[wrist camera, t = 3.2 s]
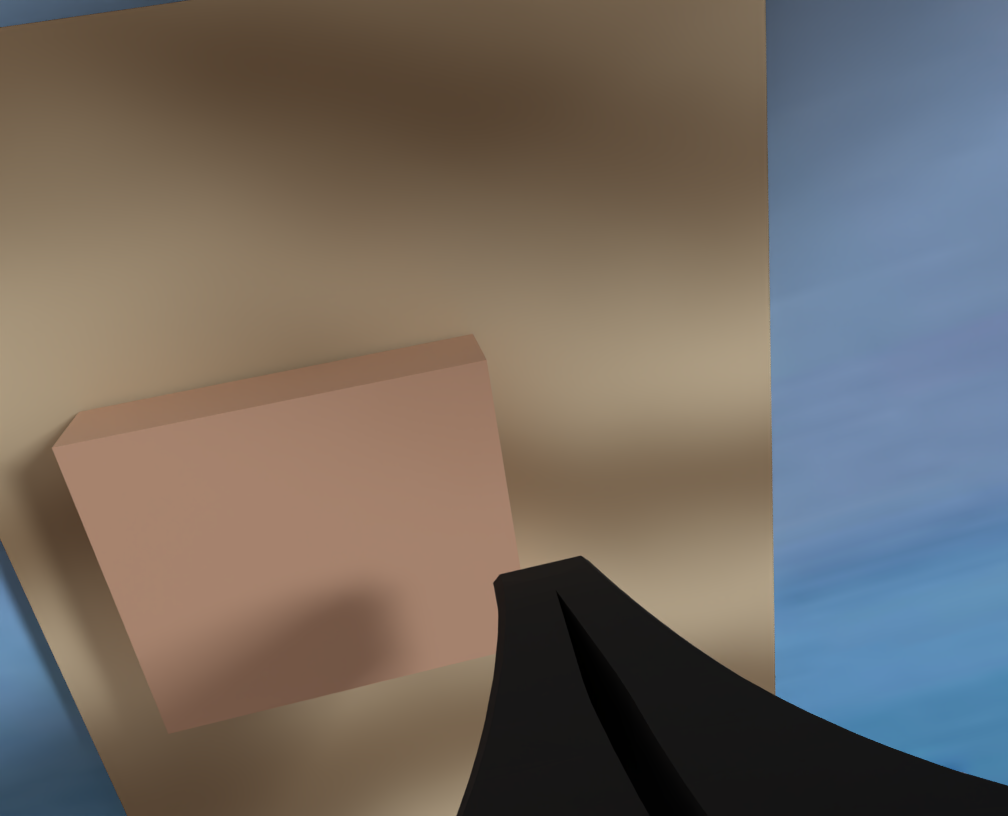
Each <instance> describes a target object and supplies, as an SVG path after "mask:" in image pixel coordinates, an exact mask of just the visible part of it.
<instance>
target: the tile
mask: <svg viewBox="0 0 1008 816" xmlns="http://www.w3.org/2000/svg"><path fill="white" fill-rule="evenodd" d="M52 450H53V452H54V454H55V457H56V459H57V462H58V464H59V467H60V469H61V472H62V474H63V477H64V479H65V481H66V484H67V486H68V489H69V491H70V494H71V496H72V499H73V501H74V504H75V506H76V508H77V511H78V513H79V516H80V518H81V521H82V523H83V526H84V528H85V531H86V533H87V535H88V538H89V540H90V543H91V545H92V548H93V550H94V553H95V555H96V557H97V560H98V562H99V565H100V567H101V570H102V572H103V575H104V577H105V580H106V582H107V584H108V587H109V589H110V592H111V594H112V597H113V599H114V602H115V604H116V607H117V609H118V611H119V614H120V616H121V619H122V621H123V624H124V626H125V629H126V631H127V633H128V636H129V638H130V641H131V643H132V646H133V648H134V651H135V653H136V656H137V658H138V660H139V663H140V665H141V668H142V670H143V673H144V675H145V678H146V680H147V683H148V685H149V687H150V690H151V692H152V695H153V697H154V700H155V702H156V705H157V707H158V710H159V712H160V714H161V717H162V719H163V722H164V724H165V727H166V729H167V732H168V734H170V733H174V732H178V731H182V730H186V729H191V728H195V727H199V726H203V725H207V724H211V723H215V722H219V721H223V720H227V719H231V718H235V717H240V716H244V715H248V714H252V713H256V712H260V711H264V710H268V709H272V708H276V707H280V706H284V705H288V704H293V703H297V702H301V701H305V700H309V699H313V698H317V697H321V696H325V695H329V694H333V693H337V692H342V691H346V690H350V689H354V688H358V687H362V686H366V685H370V684H374V683H378V682H382V681H386V680H390V679H395V678H399V677H403V676H407V675H411V674H415V673H419V672H423V671H427V670H431V669H435V668H439V667H444V666H448V665H452V664H456V663H460V662H464V661H468V660H472V659H476V658H480V657H484V656H488V655H492V654H496V647H497V637H498V608H497V602H496V596H495V591H494V585H493V582H494V581H495V580H496V578H497V577H498V576H499V575H500V574H503V573H507V572H512V571H516V570H520V569H521V568H520V562H519V556H518V550H517V544H516V538H515V531H514V525H513V519H512V513H511V507H510V501H509V494H508V488H507V482H506V476H505V470H504V464H503V457H502V451H501V445H500V439H499V433H498V427H497V421H496V414H495V408H494V402H493V396H492V390H491V384H490V377H489V371H488V365H487V360H486V358H485V356H484V354H483V352H482V350H481V348H480V346H479V344H478V342H477V341H476V339H475V337H474V335H473V334H470V335H465V336H460V337H455V338H450V339H445V340H439V341H434V342H429V343H424V344H419V345H414V346H409V347H404V348H399V349H394V350H389V351H384V352H379V353H374V354H369V355H364V356H359V357H354V358H349V359H344V360H339V361H333V362H328V363H323V364H318V365H313V366H308V367H303V368H298V369H293V370H288V371H283V372H278V373H273V374H268V375H263V376H258V377H253V378H248V379H243V380H238V381H233V382H227V383H222V384H217V385H212V386H207V387H202V388H197V389H192V390H187V391H182V392H177V393H172V394H167V395H162V396H157V397H152V398H147V399H142V400H137V401H132V402H126V403H121V404H116V405H111V406H106V407H101V408H96V409H91V410H86V411H81V412H78V414H77V415H76V416H75V418H74V419H73V420H72V422H71V423H70V424H69V426H68V427H67V428H66V430H65V431H64V432H63V434H62V435H61V436H60V438H59V439H58V440H57V442H56V443H55V444H54V446H53V447H52Z"/></svg>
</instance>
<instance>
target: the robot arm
mask: <svg viewBox="0 0 1008 816" xmlns="http://www.w3.org/2000/svg"><path fill="white" fill-rule="evenodd" d="M493 585H494V591H495V596H496V602H497V608H498V637H497V647H496V657H495V667H494V675H493V681H492V686H491V692H490V697H489V702H488V707H487V713H486V718H485V722H484V727H483V731H482V735H481V739H480V743H479V747H478V750H477V754H476V757H475V761H474V764H473V768H472V771H471V774H470V778H469V781H468V784H467V787H466V790H465V792H464V795H463V798H462V801H461V804H460V807H459V810H458V812H457V815H456V816H1008V786H1007V785H1003V784H1000V783H997V782H993V781H990V780H986V779H983V778H979V777H976V776H973V775H969V774H966V773H963V772H959V771H955V770H952V769H949V768H946V767H943V766H940V765H938V764H935V763H932V762H929V761H927V760H924V759H921V758H918V757H915V756H913V755H910V754H907V753H904V752H902V751H899V750H896V749H893V748H891V747H888V746H886V745H883V744H881V743H878V742H875V741H873V740H870V739H868V738H865V737H863V736H860V735H858V734H856V733H853V732H851V731H849V730H847V729H844V728H842V727H840V726H838V725H836V724H833V723H831V722H829V721H827V720H824V719H822V718H820V717H818V716H816V715H813V714H811V713H809V712H807V711H805V710H803V709H801V708H799V707H797V706H795V705H793V704H791V703H789V702H787V701H785V700H783V699H781V698H779V697H777V696H775V695H774V694H772V693H770V692H768V691H766V690H764V689H763V688H761V687H759V686H757V685H755V684H754V683H752V682H750V681H748V680H746V679H745V678H743V677H741V676H740V675H738V674H736V673H735V672H733V671H732V670H730V669H728V668H727V667H725V666H724V665H722V664H721V663H719V662H718V661H716V660H715V659H713V658H712V657H710V656H709V655H707V654H706V653H704V652H703V651H701V650H700V649H698V648H697V647H695V646H694V645H692V644H691V643H689V642H688V641H687V640H685V639H684V638H682V637H681V636H680V635H678V634H677V633H676V632H674V631H673V630H672V629H670V628H669V627H668V626H666V625H665V624H664V623H662V622H661V621H660V620H658V619H657V618H656V617H655V616H653V615H652V614H651V613H649V612H648V611H647V610H646V609H644V608H643V607H642V606H641V605H639V604H638V603H637V602H636V601H634V600H633V599H632V598H631V597H630V596H628V595H627V594H626V593H625V592H624V591H622V590H621V589H620V588H619V587H618V586H617V585H615V584H614V583H613V582H612V581H611V580H610V579H609V578H608V577H606V576H605V575H604V574H603V573H602V572H601V571H600V570H599V569H598V568H596V567H595V566H594V565H593V564H592V563H591V562H590V561H589V560H587V559H586V558H584V557H583V556H576V557H572V558H568V559H563V560H559V561H555V562H550V563H546V564H542V565H538V566H533V567H529V568H525V569H520V570H516V571H512V572H507V573H503V574H500V575H499V576H498V577H497V578H496V580H495V581H494V582H493Z"/></svg>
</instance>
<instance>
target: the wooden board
mask: <svg viewBox="0 0 1008 816" xmlns="http://www.w3.org/2000/svg"><path fill="white" fill-rule="evenodd" d="M470 334H473V335H474V337H475V339H476V341H477V342H478V344H479V346H480V348H481V350H482V352H483V354H484V356H485V358H486V360H487V365H488V371H489V377H490V384H491V390H492V396H493V402H494V408H495V414H496V421H497V427H498V433H499V439H500V445H501V451H502V457H503V464H504V470H505V476H506V482H507V488H508V494H509V501H510V507H511V513H512V519H513V525H514V531H515V538H516V544H517V550H518V556H519V562H520V568H521V569H525V568H529V567H533V566H538V565H542V564H546V563H550V562H555V561H559V560H563V559H568V558H572V557H576V556H583V557H584V558H586V559H587V560H589V561H590V562H591V563H592V564H593V565H594V566H595V567H596V568H598V569H599V570H600V571H601V572H602V573H603V574H604V575H605V576H606V577H608V578H609V579H610V580H611V581H612V582H613V583H614V584H615V585H617V586H618V587H619V588H620V589H621V590H622V591H624V592H625V593H626V594H627V595H628V596H630V597H631V598H632V599H633V600H634V601H636V602H637V603H638V604H639V605H641V606H642V607H643V608H644V609H646V610H647V611H648V612H649V613H651V614H652V615H653V616H655V617H656V618H657V619H658V620H660V621H661V622H662V623H664V624H665V625H666V626H668V627H669V628H670V629H672V630H673V631H674V632H676V633H677V634H678V635H680V636H681V637H682V638H684V639H685V640H687V641H688V642H689V643H691V644H692V645H694V646H695V647H697V648H698V649H700V650H701V651H703V652H704V653H706V654H707V655H709V656H710V657H712V658H713V659H715V660H716V661H718V662H719V663H721V664H722V665H724V666H725V667H727V668H728V669H730V670H732V671H733V672H735V673H736V674H738V675H740V676H741V677H743V678H745V679H746V680H748V681H750V682H752V683H754V684H755V685H757V686H759V687H761V688H763V689H764V690H766V691H768V692H770V693H772V694H774V695H775V641H774V570H773V500H772V429H771V359H770V289H769V218H768V148H767V77H766V7H765V0H188V1H181V2H174V3H167V4H160V5H153V6H146V7H139V8H132V9H125V10H118V11H111V12H104V13H97V14H90V15H83V16H77V17H70V18H63V19H56V20H49V21H42V22H35V23H28V24H21V25H14V26H7V27H0V540H1V542H2V544H3V546H4V548H5V550H6V553H7V555H8V557H9V559H10V561H11V564H12V566H13V568H14V570H15V572H16V574H17V577H18V579H19V581H20V583H21V585H22V587H23V590H24V592H25V594H26V596H27V598H28V601H29V603H30V605H31V607H32V609H33V611H34V614H35V616H36V618H37V620H38V622H39V625H40V627H41V629H42V631H43V633H44V635H45V638H46V640H47V642H48V644H49V646H50V649H51V651H52V653H53V655H54V657H55V659H56V662H57V664H58V666H59V668H60V670H61V672H62V675H63V677H64V679H65V681H66V683H67V686H68V688H69V690H70V692H71V694H72V696H73V699H74V701H75V703H76V705H77V707H78V710H79V712H80V714H81V716H82V718H83V720H84V723H85V725H86V727H87V729H88V731H89V734H90V736H91V738H92V740H93V742H94V744H95V747H96V749H97V751H98V753H99V755H100V757H101V760H102V762H103V764H104V766H105V768H106V771H107V773H108V775H109V777H110V779H111V781H112V784H113V786H114V788H115V790H116V792H117V795H118V797H119V799H120V801H121V803H122V805H123V808H124V810H125V812H126V814H127V816H456V815H457V812H458V810H459V807H460V804H461V801H462V798H463V795H464V792H465V790H466V787H467V784H468V781H469V778H470V774H471V771H472V768H473V764H474V761H475V757H476V754H477V750H478V747H479V743H480V739H481V735H482V731H483V727H484V722H485V718H486V713H487V707H488V702H489V697H490V692H491V686H492V681H493V675H494V667H495V657H496V654H492V655H488V656H484V657H480V658H476V659H472V660H468V661H464V662H460V663H456V664H452V665H448V666H444V667H439V668H435V669H431V670H427V671H423V672H419V673H415V674H411V675H407V676H403V677H399V678H395V679H390V680H386V681H382V682H378V683H374V684H370V685H366V686H362V687H358V688H354V689H350V690H346V691H342V692H337V693H333V694H329V695H325V696H321V697H317V698H313V699H309V700H305V701H301V702H297V703H293V704H288V705H284V706H280V707H276V708H272V709H268V710H264V711H260V712H256V713H252V714H248V715H244V716H240V717H235V718H231V719H227V720H223V721H219V722H215V723H211V724H207V725H203V726H199V727H195V728H191V729H186V730H182V731H178V732H174V733H170V734H168V732H167V729H166V727H165V724H164V722H163V719H162V717H161V714H160V712H159V710H158V707H157V705H156V702H155V700H154V697H153V695H152V692H151V690H150V687H149V685H148V683H147V680H146V678H145V675H144V673H143V670H142V668H141V665H140V663H139V660H138V658H137V656H136V653H135V651H134V648H133V646H132V643H131V641H130V638H129V636H128V633H127V631H126V629H125V626H124V624H123V621H122V619H121V616H120V614H119V611H118V609H117V607H116V604H115V602H114V599H113V597H112V594H111V592H110V589H109V587H108V584H107V582H106V580H105V577H104V575H103V572H102V570H101V567H100V565H99V562H98V560H97V557H96V555H95V553H94V550H93V548H92V545H91V543H90V540H89V538H88V535H87V533H86V531H85V528H84V526H83V523H82V521H81V518H80V516H79V513H78V511H77V508H76V506H75V504H74V501H73V499H72V496H71V494H70V491H69V489H68V486H67V484H66V481H65V479H64V477H63V474H62V472H61V469H60V467H59V464H58V462H57V459H56V457H55V454H54V452H53V450H52V447H53V446H54V444H55V443H56V442H57V440H58V439H59V438H60V436H61V435H62V434H63V432H64V431H65V430H66V428H67V427H68V426H69V424H70V423H71V422H72V420H73V419H74V418H75V416H76V415H77V414H78V412H81V411H86V410H91V409H96V408H101V407H106V406H111V405H116V404H121V403H126V402H132V401H137V400H142V399H147V398H152V397H157V396H162V395H167V394H172V393H177V392H182V391H187V390H192V389H197V388H202V387H207V386H212V385H217V384H222V383H227V382H233V381H238V380H243V379H248V378H253V377H258V376H263V375H268V374H273V373H278V372H283V371H288V370H293V369H298V368H303V367H308V366H313V365H318V364H323V363H328V362H333V361H339V360H344V359H349V358H354V357H359V356H364V355H369V354H374V353H379V352H384V351H389V350H394V349H399V348H404V347H409V346H414V345H419V344H424V343H429V342H434V341H439V340H445V339H450V338H455V337H460V336H465V335H470Z"/></svg>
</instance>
